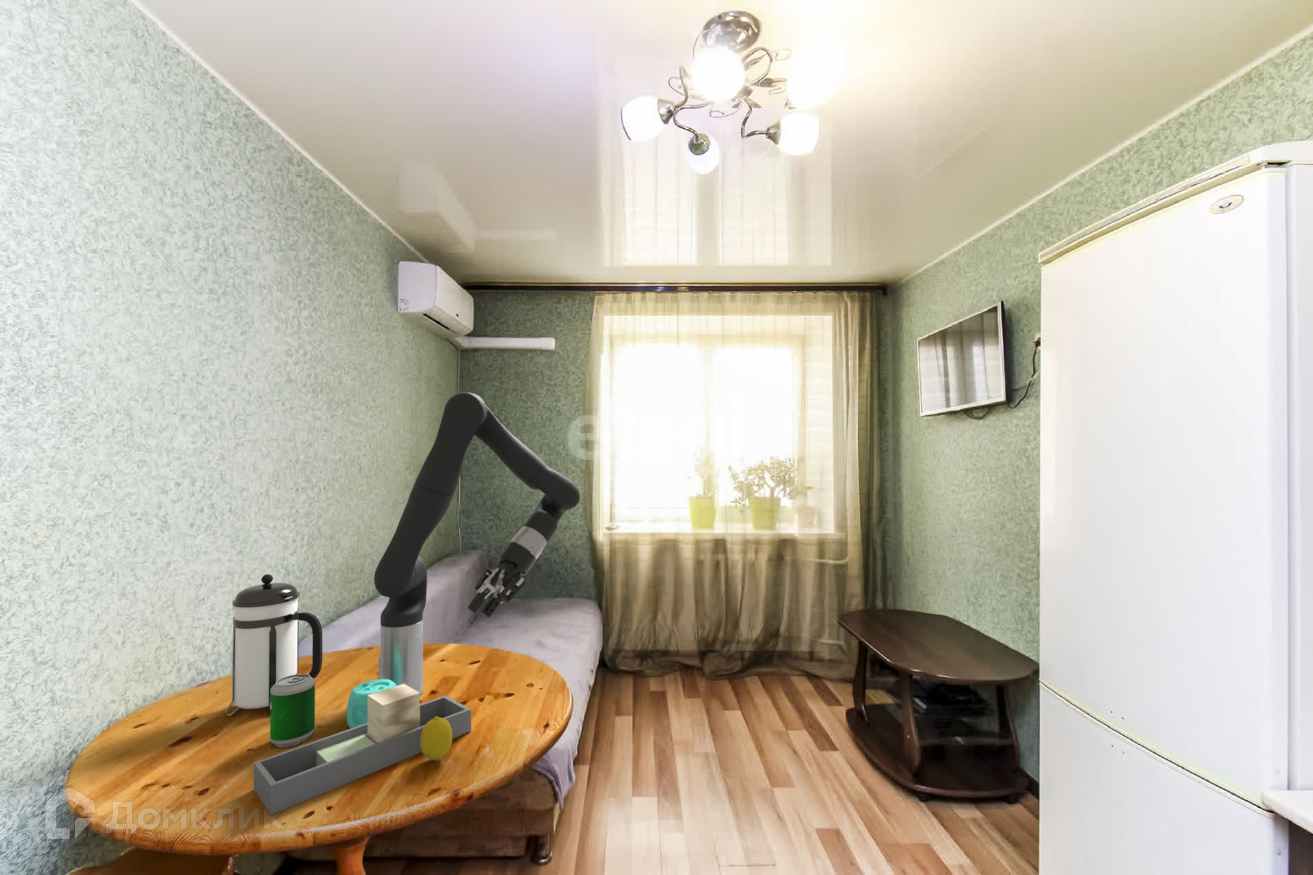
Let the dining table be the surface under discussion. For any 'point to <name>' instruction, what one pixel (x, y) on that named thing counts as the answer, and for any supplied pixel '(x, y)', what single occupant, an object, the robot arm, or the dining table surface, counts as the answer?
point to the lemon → (436, 738)
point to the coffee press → (267, 641)
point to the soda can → (292, 710)
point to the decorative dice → (364, 700)
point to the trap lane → (345, 758)
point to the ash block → (393, 712)
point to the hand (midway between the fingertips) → (478, 612)
